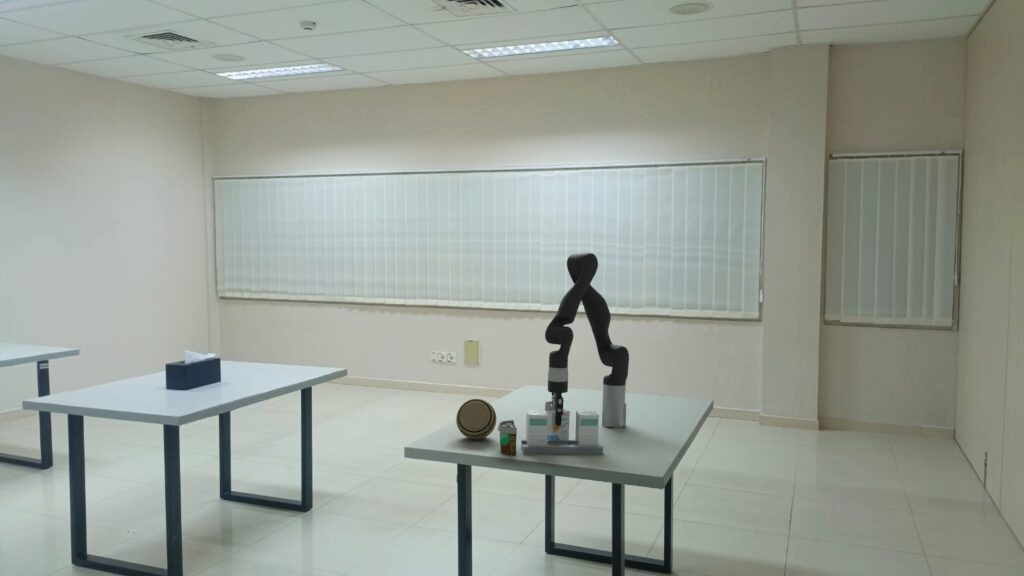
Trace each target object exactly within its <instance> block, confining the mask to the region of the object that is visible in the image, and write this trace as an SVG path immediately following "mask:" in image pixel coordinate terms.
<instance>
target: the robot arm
mask: <svg viewBox="0 0 1024 576" xmlns="http://www.w3.org/2000/svg"><path fill="white" fill-rule="evenodd" d="M566 267H567V268H566V269H567V271H568V274H569V277H570V279H571V280H572V282H573V286H572V287H571V288H569V290H568V291H566V293H565V295H564V296H563V297H562V299H561V301H560V304H559V306H558V310H557V311H556V312H557V313H556V314H555V315H554V316H553V318H552V320H551V321H550V322H549V323H548V325H547V327H546V329H545V333H544V339H545V341H546V342H547V343H548V344H551V345H559V346H560V347H559V349H557V350H552V351H550V352H549V355H548V371H547V392H549V393H551V401H552V402H553V404H551V406H554V410H555V425H556V426H561V419H562V415H563V409H564V402H565V401H564V397H563V395H562V394H564V393H565V394H566V393H568V390H569V369H568V368H569V354H570V351H571V347H572V344H573V341H574V331H573V330H572V328H571V327H570V326H568V325H571V324H573V323H574V321H575V319H576V316H577V314H578V312H579V311H578V310H579V308H580V304H582V306H583V310H584V312H585V315H586V319H587V320H588V322H589V325H590V328H591V331H592V334H593V337H594V340H595V346H596V349H597V354H598V357H599V360H600V362H601V364H603V365H604V366H606V367H609V368H610V367H611V371H610V372H611V373H610V374H607V375H605V376H603V378H602V379H603V380H602V410H601V411H602V412H601V425H602V426H603V427H605V428H610V427H614V428H613V429H616V428H615V427H621V428H624V427H623V426H627V403H626V391H627V390H626V389H627V388H626V387H627V386H626V385H627V384H626V383H627V380H628V376H629V365H630V353H629V350H628V348H627V347H626V346H624V345H618V344H613V342H612V339H611V337H610V334H609V328H610V324H611V319H612V316H611V312H610V308H609V306H608V303H607V300H606V299H605V298H604V297H603V295H601V293H600V292H598V291H597V290H596V289H595V287H594V286H593V285H591V283H592V281H593V280H594V278H595V275H596V273H597V272H598V268H599V260H598V257H597V256H596V255H595V254H594V253H592V252H583V253H573V254H570V255H569V256H568V257H567V260H566ZM558 410H560V412H558Z"/></svg>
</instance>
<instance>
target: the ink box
mask: <svg viewBox="0 0 1024 576" xmlns="http://www.w3.org/2000/svg"><path fill="white" fill-rule="evenodd" d="M552 404H553V402H552V400H551V401H545V403H544V411H546V412H547V413H548V440H570V416H571V413H570V412H571V411H570V410H569V409H566V408H563V415H562V419H561V426H556V425H555V410H554V406H552ZM558 412H560V410H558Z"/></svg>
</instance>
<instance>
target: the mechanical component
mask: <svg viewBox="0 0 1024 576" xmlns="http://www.w3.org/2000/svg"><path fill="white" fill-rule="evenodd" d="M455 422H456V426H457V429H458V431H459V432H460V433H461V435H463V436H464V437H465V438H468V439H470V440H482V439H485V438H487V437H489V436H490V435H491V434H492V432H493V431H494V430H495V427H496V425H497V414H496V410H495V408H494V407H493V406H492V404H491V403H490V402H487V400H485V399H481V398H471V399H469V400H467V401H465V402H463V404H461V405H460V407H459V409H458V410H457V412H456V417H455Z"/></svg>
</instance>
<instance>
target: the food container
mask: <svg viewBox="0 0 1024 576" xmlns="http://www.w3.org/2000/svg"><path fill="white" fill-rule="evenodd" d="M497 430H498V431H499V446H500V449H499V450H500V454H502V455H507V456H515V457H516V456H517V432H518V431H517V427H516V425H515V420H513V419H510V420H503V421H499V424H498V426H497Z"/></svg>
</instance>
